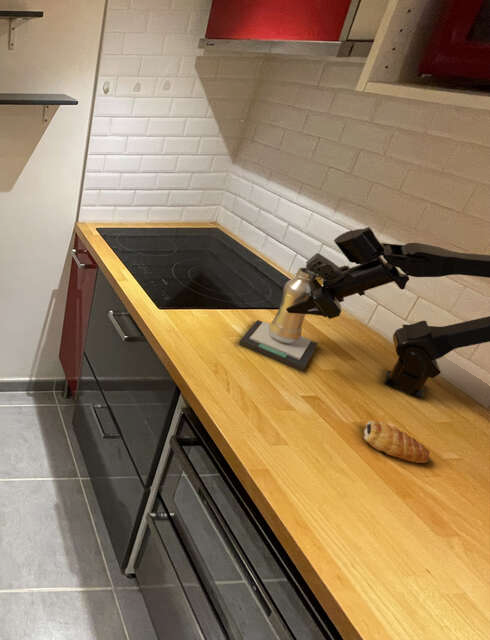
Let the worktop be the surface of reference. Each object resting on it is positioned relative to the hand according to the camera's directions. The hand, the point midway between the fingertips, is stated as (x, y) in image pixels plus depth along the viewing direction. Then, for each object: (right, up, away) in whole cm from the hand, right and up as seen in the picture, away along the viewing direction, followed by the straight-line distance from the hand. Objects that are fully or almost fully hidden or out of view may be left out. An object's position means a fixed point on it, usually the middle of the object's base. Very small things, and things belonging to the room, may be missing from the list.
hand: (288, 302), depth 112 cm
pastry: (+2, -25, -24) cm, 35 cm away
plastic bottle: (+1, -10, +4) cm, 11 cm away
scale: (0, -12, +4) cm, 13 cm away
